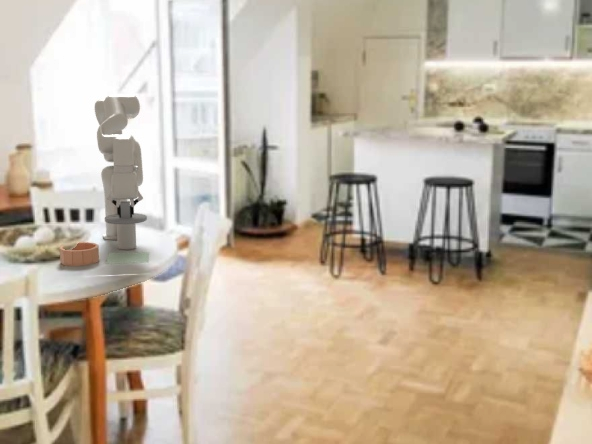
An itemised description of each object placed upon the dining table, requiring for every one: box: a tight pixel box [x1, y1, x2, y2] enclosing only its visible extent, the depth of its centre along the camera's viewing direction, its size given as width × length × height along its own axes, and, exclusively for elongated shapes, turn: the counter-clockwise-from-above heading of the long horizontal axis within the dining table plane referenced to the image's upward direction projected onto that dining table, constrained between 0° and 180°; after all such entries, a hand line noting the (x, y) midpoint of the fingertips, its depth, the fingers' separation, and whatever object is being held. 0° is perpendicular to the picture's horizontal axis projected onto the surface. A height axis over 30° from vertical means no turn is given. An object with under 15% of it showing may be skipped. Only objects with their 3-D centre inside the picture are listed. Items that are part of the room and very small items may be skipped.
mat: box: [105, 251, 150, 265], centre depth 286 cm, size 16×16×1 cm
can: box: [116, 223, 137, 251], centre depth 300 cm, size 8×8×12 cm
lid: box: [104, 200, 148, 224], centre depth 282 cm, size 16×16×7 cm
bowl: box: [59, 241, 100, 267], centre depth 280 cm, size 14×14×6 cm
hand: (125, 216), depth 283 cm, fingers closed on lid, 3 cm apart
